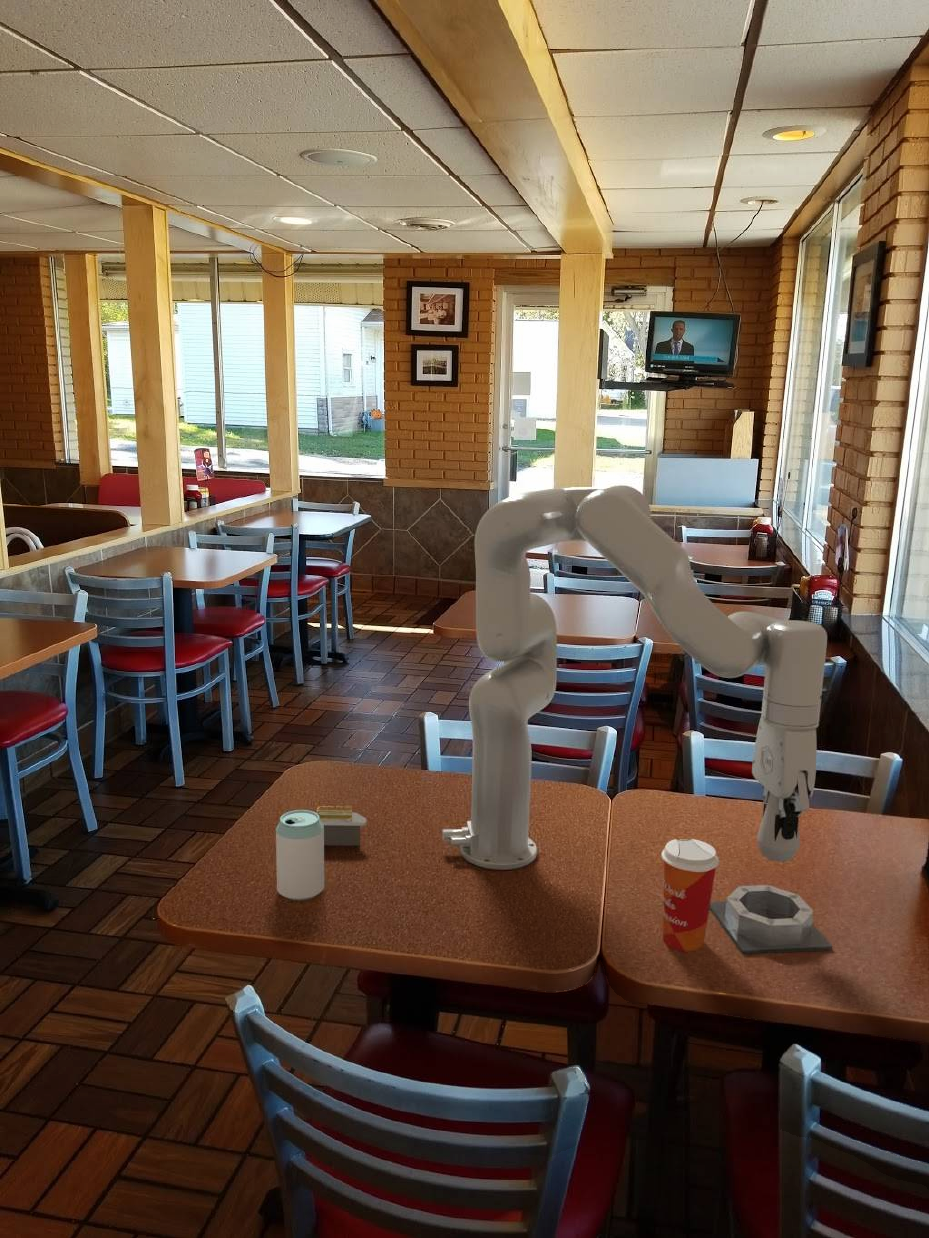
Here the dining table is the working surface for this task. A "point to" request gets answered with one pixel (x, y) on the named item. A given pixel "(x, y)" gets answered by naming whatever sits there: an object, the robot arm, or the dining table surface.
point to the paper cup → (687, 892)
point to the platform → (341, 826)
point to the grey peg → (766, 838)
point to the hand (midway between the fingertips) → (778, 834)
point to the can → (300, 855)
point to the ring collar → (768, 921)
